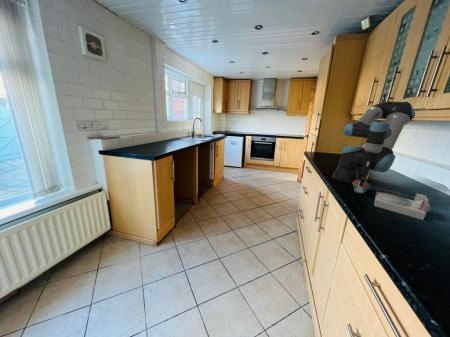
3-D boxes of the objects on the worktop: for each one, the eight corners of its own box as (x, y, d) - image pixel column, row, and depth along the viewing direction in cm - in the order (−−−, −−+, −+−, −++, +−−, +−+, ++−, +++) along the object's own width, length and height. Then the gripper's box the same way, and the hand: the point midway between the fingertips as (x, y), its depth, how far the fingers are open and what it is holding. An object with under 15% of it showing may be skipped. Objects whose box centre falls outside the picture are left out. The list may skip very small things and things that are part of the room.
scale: (375, 196, 102) (379, 182, 99) (421, 208, 91) (428, 193, 88) (374, 205, 90) (379, 190, 87) (427, 221, 79) (435, 204, 76)
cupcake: (370, 193, 106) (376, 173, 102) (365, 196, 100) (372, 175, 97) (353, 187, 112) (358, 169, 108) (348, 190, 107) (353, 171, 103)
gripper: (364, 148, 110) (354, 182, 116) (361, 152, 93) (349, 192, 99) (380, 150, 106) (369, 185, 112) (380, 155, 88) (366, 196, 95)
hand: (360, 188), depth 106 cm, fingers open, 11 cm apart
